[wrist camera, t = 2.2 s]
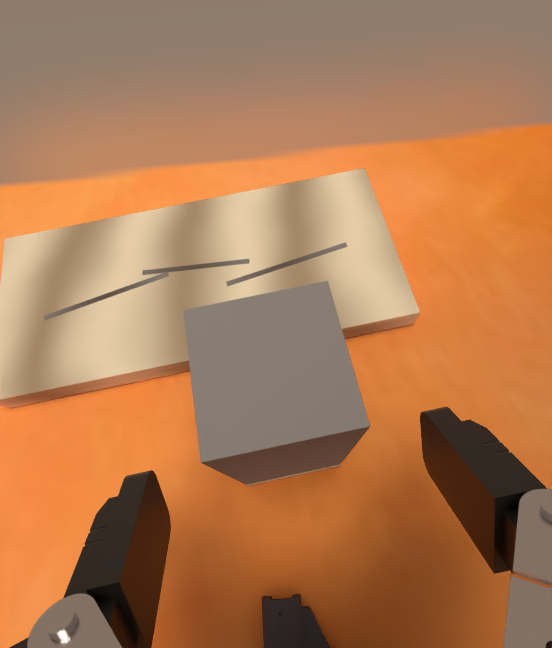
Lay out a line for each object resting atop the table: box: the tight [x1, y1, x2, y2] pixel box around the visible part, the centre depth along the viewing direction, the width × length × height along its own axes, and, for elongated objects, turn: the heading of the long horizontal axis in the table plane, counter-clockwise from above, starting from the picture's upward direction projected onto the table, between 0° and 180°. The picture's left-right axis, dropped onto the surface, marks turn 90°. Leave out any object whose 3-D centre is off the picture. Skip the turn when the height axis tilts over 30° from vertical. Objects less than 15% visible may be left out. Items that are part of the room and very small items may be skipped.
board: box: [0, 168, 420, 408], centre depth 24 cm, size 22×10×2 cm, turn 101°
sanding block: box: [183, 281, 370, 486], centre depth 16 cm, size 5×5×10 cm
